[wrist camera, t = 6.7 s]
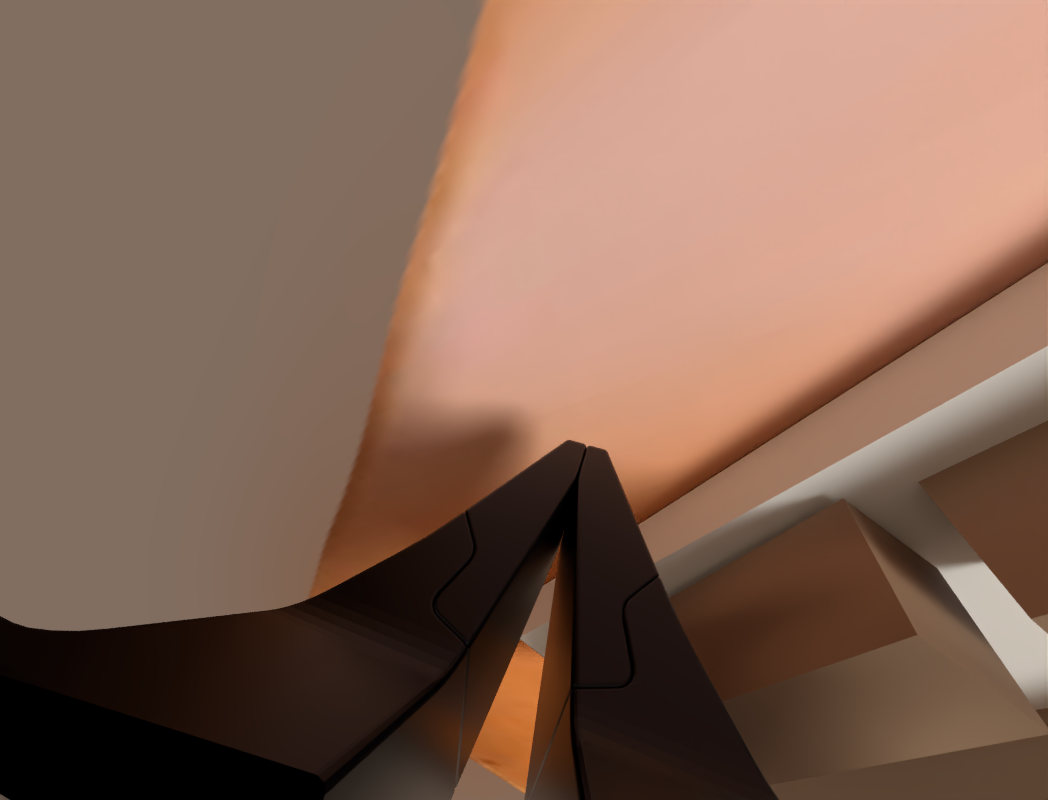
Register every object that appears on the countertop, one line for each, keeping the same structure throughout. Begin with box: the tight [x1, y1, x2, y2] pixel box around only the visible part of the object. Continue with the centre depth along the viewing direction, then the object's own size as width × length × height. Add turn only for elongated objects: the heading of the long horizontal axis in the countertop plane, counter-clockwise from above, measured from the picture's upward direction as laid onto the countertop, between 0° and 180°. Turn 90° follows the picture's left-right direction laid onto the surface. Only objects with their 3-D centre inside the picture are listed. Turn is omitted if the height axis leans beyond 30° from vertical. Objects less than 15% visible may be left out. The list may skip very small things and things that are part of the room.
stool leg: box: [669, 499, 1048, 785], centre depth 10 cm, size 11×3×3 cm, turn 148°
